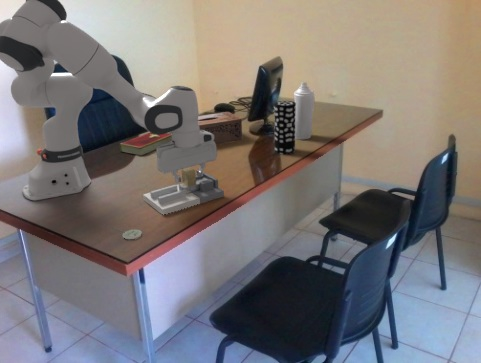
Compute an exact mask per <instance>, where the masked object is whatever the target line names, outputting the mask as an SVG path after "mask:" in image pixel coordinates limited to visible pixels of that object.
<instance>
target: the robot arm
mask: <svg viewBox="0 0 481 363" xmlns="http://www.w3.org/2000/svg"><path fill="white" fill-rule="evenodd" d="M67 14H68V13H67V11H66V9H65V6H64V5H63V4H62V3H61V2H60V1H59V0H25V2H24V3H23V4H22V5H21V6H20V7H19V8H18V9H17V11H16V12H15V13H14V14H13V15H12V17H11V18H6V19H4V20H2V21H1V22H0V61H1V62H2V63H3V64H5V65H6V66H7V67H9V68H10V69H13V71H15V72H16V74H17V76H15V78H14V79H13V80H12V82H11V85H10V93H11V97H12V99H13V100H14V102H15V103H16V104H17V105H19V106H20V107H21V106H22V107H26V108H33V109H36V108H37V109H39V108H41V109H42V108H54V109H55V115H54V116H52V117H50V118H49V119H47V120H46V121H45V122H44V123H43V125H42V127H41V128H42V129H41V131H42V137H43V140H44V141H43V142H44V145H45V146H44V147H45V148H44V149H41V148H38V149H37V150H36V154H37V155H38V156H40V159H41V160H40V162H39V163H37V165H35V166H34V167H33V168H32V170H30V171H29V173H28V176H27V184H26V185H24V186H23V187H22V194H23V196H24V197H25V199H27V200H31V201H41V200H46V199H50V198H57V197H62V196H67V195H72V194H77V193H80V192H81V191H83V190H84V189H85V188H87V186H89V185H90V184H91V182H92V180H91V178H90V176H89V173H88V171H87V168H86V166H85V162H84V152H83V151H84V150H83V147H82V143H80V138H79V130H78V128H79V127H78V120H79V117H80V113H81V112H82V110H83V108H84V107H85V106H87V104H89V102H90V101H91V99H92V98H93V95H94V94H93V93H94V89H96V90H102V91H104V92H105V93H107V94H109V95H110V96H111V97H113V98H114V99H115V100H116V101H117V102H119V103H120V104H121V105H123V107H125V109H126V110H127V111H128V114H129V116H130V118H131V119H132V121H133V122H134V123H135V124H137V126H140V127H142V128H144V129H145V130H146V131H148V133H150V132H151V133H153V134H157V135H161V134H165V133H170V134H171V135H172V141H171V142H167V143H162V144H160V146H158V147H157V149H155V151H156V167H157V170H158V171H159V172H160V173H162V174H165V175H166V174H168V173H170V174H171V175H172V176H173V178H174V182H175V183H176V184H180V183H182V176H180V175H178V171H179V170H181V169H185V168H189V167H190V168H192V167H195V166H198V165H199V168H198V170H195V174H196V175H197V176H198V177H201V176H203V173H204V170H205V168H206V166H207V165H206V163H209V162H214V161H216V159H217V158H218V150H217V149H218V148H217V145H216V144H215V142H214V141H213V140H214V135H213V134H212V133H210V132H207V131H204V130H200V127H199V124H198V116H200V115H199V113H200V112H199V103H198V98H197V94H196V91H195V90H194V89H192V88H190V87H188V86H185V85H172V86H170V87H169V88H168V90H167V91H166V92H165V93H164V94H162V95H161V96H159V97H158V98H156V97H155V96H153V95H151V94H147V93H144V92H142V91H140V90H138V89H136V88H135V87H134V86H133V85H132V84H131V83H130V82H129V81H127V80H126V79H125V78H124V77H123V76H122V75H121V74H120V72H119V71H118V62H117V61H116V59H115V57H113V55H112V54H111V53H110V52H109V51H108V50H107V49H106V47H104V46H103V45H102V44H101V43H100V42H98V41H97V40H96V39H95V38H94V37H92V36H91V35H90V34H89V33H88V32H86V31H84V30H82V29H81V28H80V27H78V26H76V25H75V24H73V23H71V22H69V21H67V16H68V15H67ZM55 62H56V63H57V64H58V65H60V66H61V67H62V68H63V69H64V70H65V71H67V72H54V71H55V68H56V67H55Z"/></svg>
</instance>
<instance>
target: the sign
mask: <svg viewBox="0 0 481 363" xmlns="http://www.w3.org/2000/svg"><path fill="white" fill-rule="evenodd" d="M102 225H103V226H105V225H106V224H104V223H102ZM105 227H108V228H110V227H111V228H110V229H113V228H114V229H113V230H115V229H117V230H116V231H118V230H120V231H119V232H121V231H122V232H121V233H122V238H123V239H124V238H125V239H135V238H137V237H139V236H141V234H142V233H143V232H142V231H141V230H140V229H130V230H127V231H124V230H121V229H118V228H115V227H112V226H109V225H106V226H105ZM123 232H125V233H123ZM142 235H143V234H142ZM141 237H142V236H141ZM125 239H124V240H125ZM135 240H136V239H135Z"/></svg>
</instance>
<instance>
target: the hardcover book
mask: <svg viewBox="0 0 481 363" xmlns="http://www.w3.org/2000/svg"><path fill="white" fill-rule="evenodd" d="M171 141H172V135H171V133H170V132H168V133H165V134H161V135H157V134H153V133H151V132H147V133H144V134H143V135H140V136H136V137H135V138H130V139H129V140H126V141H124V142H121V143H119V149H120V152H124V153H128V154H133V155H138V156H143V155H145V154H148V153H151V152H153V151H156V149H157V147H158V146H160V144H162V143H167V142H171Z"/></svg>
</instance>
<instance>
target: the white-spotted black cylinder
mask: <svg viewBox="0 0 481 363" xmlns="http://www.w3.org/2000/svg"><path fill="white" fill-rule="evenodd" d="M295 116H296V103H295V101H292V100H278V101H275V102H274V153H275V154H278V155H283V156H285V155H292V154H294V153H296V139H295Z"/></svg>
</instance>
